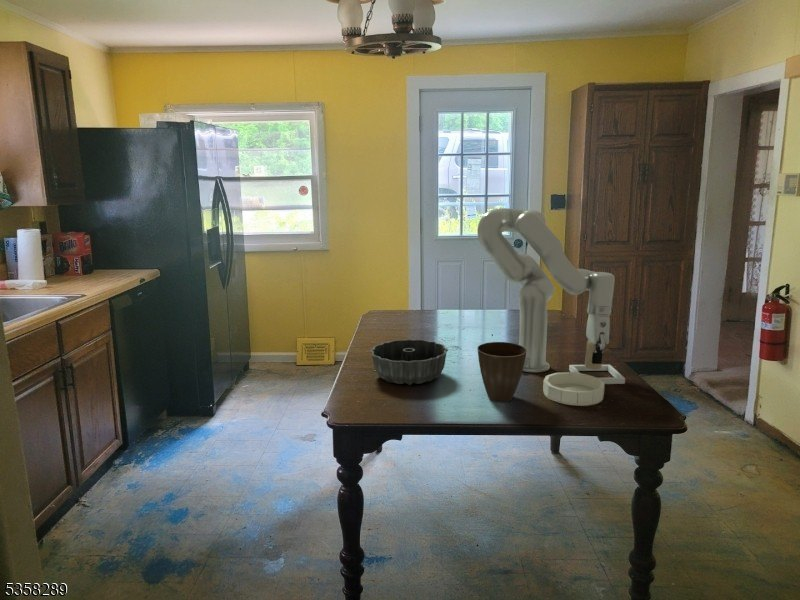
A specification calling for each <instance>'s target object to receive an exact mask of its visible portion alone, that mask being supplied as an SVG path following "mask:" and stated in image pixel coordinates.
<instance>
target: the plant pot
mask: <svg viewBox="0 0 800 600" xmlns="http://www.w3.org/2000/svg"><path fill="white" fill-rule="evenodd" d="M526 353H527V349H526V348H525V347H523V346H521V345H519V343H518V344H517V343H513V342H509V341H491V342H484V343H481V344H479V345H478V346H477V356H478V363H479V369H480V374H481V378H482V379H481V380H482V382H483V385H484V390H485V391H486V392H485V393H486V395H487V398H488V399H489V400H491V401H493V402H498V403H506V402H509V401H511V400H512V399H513V398H514V395H515V393H516V391H517V388H518V385H519V383H520V380H521V377H522V374H523V372H524V371H523V367H524V363H525V358H526Z"/></svg>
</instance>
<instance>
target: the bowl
mask: <svg viewBox="0 0 800 600" xmlns="http://www.w3.org/2000/svg"><path fill="white" fill-rule="evenodd" d="M599 378H600V377H596V376H593V375H589V374H586V373H583V372H582V373H581V372H580V373H574V372H571V371H567V372H566V371H565V372H554V373H551V374H548V375H545V377H544V379H543V381H542V383H543V384H542V385H543V386H542V392H543V395H544V396H545V398H547V399H549V400H551V401H552V402H555V403H559V404H563V405H566V406H567V405H568V406H577V407H579V406H580V407H586V406H594V405H597V404H601V402H602V401H603V400H604V395H605V385H606V384H605V383H604V382H602V381H601V380H600V379H599Z"/></svg>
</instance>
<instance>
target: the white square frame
mask: <svg viewBox="0 0 800 600" xmlns="http://www.w3.org/2000/svg"><path fill="white" fill-rule="evenodd" d="M568 367H569V368H568V370H569V372H574V373H581V371H582V372H587V371H588V372H590V371H591V372H592V371H593V372H594V371H595V372H596V371H597V372H598V371H599V372H600V371H601V372H602V371H603V372H605V371H607V372H608V373H610V375H611V376H612V377H611V376H610V377H609V376H608V377H606V376H605V377H598V378H599V379H600V380H601V381H602V382H604V383H605V385H614V384H615V385H617V384H619V385H623V384H624V385H626V384H625V383H626V378H625V377H624V376H623V375H622V374H621V373H620V372H619V371H618V370H617V369H616V368H614V366H612V365H611V364H602V366H601V369H598V370H594V369H589V368H586V367H585V364H569V366H568Z"/></svg>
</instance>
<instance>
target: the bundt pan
mask: <svg viewBox="0 0 800 600" xmlns="http://www.w3.org/2000/svg"><path fill="white" fill-rule="evenodd" d="M448 350H449V349H448V348H446V346H445V345H444V344H442V343H439V342H436V341H431V340H426V339H410V338H409V339H395V340H391V341H388V342H387V341H386V342H381V343H380V344H376V345H374V346H373V347H372V349H370V350H369V353H370V354H371V356H372V362H373V366H374V370H375V371H376V373H377V375H378V376H379V378H381V379H382V380H385V382H387V383H394V384H396V385H397V384H398V385H404V384H407V385H408V386H411V385H412V384H416V385H418V384H419V385H421V384H423V383H425V382H426V383H430V382H432V381H433V380H434V379H437V378H438V377H439V376H440V375H441V374H442V372H443V370H444V368H445V364H446V360H447V359H446V358H447V352H448Z"/></svg>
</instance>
